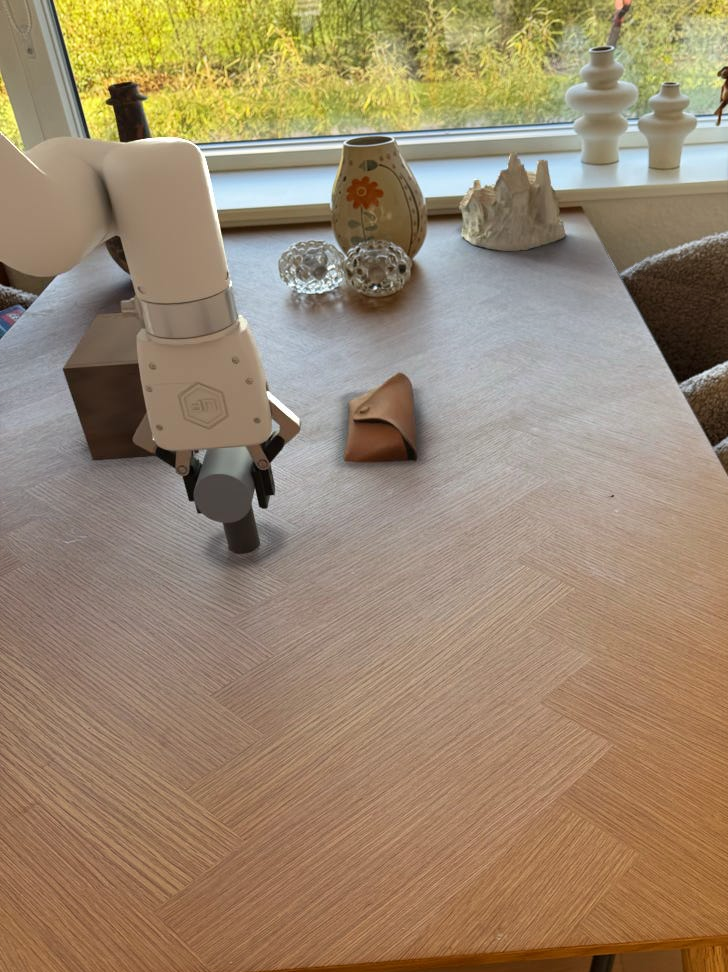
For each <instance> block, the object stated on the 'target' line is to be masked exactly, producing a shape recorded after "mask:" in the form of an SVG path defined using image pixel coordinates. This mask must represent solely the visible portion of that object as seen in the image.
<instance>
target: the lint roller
mask: <svg viewBox="0 0 728 972" xmlns="http://www.w3.org/2000/svg"><path fill="white" fill-rule="evenodd" d="M201 463H202V467H201V470H200V473H199V476H198V480H197V483H196V486H195V490H194V501H195V502H194V501H193V502H194V505H195V504H196V506H197V508H198V509H199V511H200V512H201V513H202V515H203V516H204V517H206V518H208V519H209V520H211V521H213V522H217V523H222V526H223V529H224V534H225V538H226V542H227V546H228V550H229V551H230V552H232V553H233V554H237V555H239V554H241V555H242V554H248V553H251V552H253V551H255V550H257V549H258V548H259V547H260V545H261V539H260V536H259V535H260V534H259V530H258V525H257V522H256V517H255V513H254V509H253V504H252V503H253V499H254V494H255V491H256V490H255V485H254V481H253V477H252V469H253V465H254V463H253V459H252V457H251V456H250V454H249V452H248V450H247V449H246V447H245V446H244V447H233V448H220V449H206V451H205V453H204V457H203V460H202V462H201ZM196 506H195V507H196Z"/></svg>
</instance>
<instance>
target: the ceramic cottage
mask: <svg viewBox="0 0 728 972" xmlns="http://www.w3.org/2000/svg"><path fill="white" fill-rule="evenodd" d="M548 162H549V161H548V160H546V159H538V161H537V163H536V167H535V168H536V169H535V171H531V170H526V168H525V164H524V163H522V162H521V159H520V158H519V157H518V152H513V151H510V153H509V157H508V162H507V168H506V169H502V170H500V171H499V175H498V176H497V179H496V181H495V182H494V183H493V184H490V185H489V184H485V185H484V186H483V187H482V184H481V181H480V179H476V178H475V179H473V181H472V186H471V187H468V190H467V192H466V194H465V195H464V196H463V198H462V200H461V201H460V202H459V206H458V209H459V210H461V215H462V222H463V223H462V224H463V226H462V229H461V238H464V240H465V241H467V242H468V243H470V245H473V246H478V247H480V248H486V249H487V250H488V249H489V250H494V251H497V250H498V251H501V252H517V251H520V250H521V251H526V250H530V249H535V248H538V247H539V248H540V246H543V245H548V244H551V243H554V242H557V241H559V240H562V239H564V238H565V237H566V229H565V226H564V225H565V224H564V221H563V220H562V219H561V218H560V211H561V209H560V207H559V204H558V203H559V202H561V197H559V194H557V192H556V190H555V189H554V187H553V186H552V181H551V175H550V170H549V163H548Z"/></svg>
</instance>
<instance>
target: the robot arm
mask: <svg viewBox="0 0 728 972" xmlns="http://www.w3.org/2000/svg"><path fill="white" fill-rule="evenodd" d="M209 171H210V170H209V167H208V164H207V160H206V158H205V155H204V153H203V152H202V150H201V149H200V148H199V147H198V145H196V144H195V143H193V142H191V141H190V140H186V139H182V138H178V137H152V138H151V139H143V140H136V141H132V142H128V143H122V142H120V141H109V140H101V139H93V138H87V137H79V136H77V137H76V136H58V137H57V136H56V137H53V138H48V139H46V140H44V141H42V142H40V143H38V144H36V145H35V146H33V147H32V148H30V149H28V150H26V151H24V152H22V151H20V150H19V149H18V147H16V146H15V145H14V144H13V142H11V141H10V140H9V139H8V138H7V137H6V136H5V135H4V134H3V132H1V131H0V262H1V263H3V264H4V265H6V266H7V267H9V268H11V269H13V270H15V271H18V272H20V273H22V274H24V275H29V276H32V277H37V278H38V277H39V278H51V277H56V276H57V277H58V276H60V275H63V274H65V273H68V272H70V271H71V270H73V269H74V268H75V267H76V266H78V265H79V264H80V263H81V262H82V261H84V260H85V258H87V257H88V256H89V255H90V253H91V252H92V251H93V250H94V249H96V247H98V246H100V245H101V244H103V243H105V241H107V240H108V239H110V238H112V237H114V236H116V235H117V236H119V237H120V238H121V242H122V245H123V249H124V253H125V256H126V260H127V264H128V267H129V271H130V275H131V276H130V275H129V276H130V278H131V282H132V286H133V289H134V293H135V295H134V296H133V297H130V298H129V299H127V300H126V299H125V300H121V301H120V309H121V313H122V314H123V316H124V317H125V318H126V317H133V318H134V319H138V320H139V322H141V325H142V329H141V330H140V332H139V333H138V334H137V354H138V363H139V370H140V377H141V383H142V389H143V394H144V399H145V404H146V409H147V412H146V414H145V416H144V418H143V419H142V421H141V423H140V425H139V426H138V428H137V430H136V432H135V434H134V436H133V442H134V443H135V444H136V445H138V446H140V447H142V448H144V449H145V450H147V451H149V452H151V453H152V452H153V453H155V454H156V457H157V458H158V459H159V460H161V461H162V462H164V463H165V464H167V465H169V466H170V467H172V468H173V469H175V470H174V471H175V473H176V474H177V475H178V476H181V477H182V480H183V484H184V488H185V491H186V495H187V499H188V501H189V502H194V505H195V509H196V513H197V514H198V515H200V514H202V513H201V512H200V511H199V509H198V508H197V506H196V504H195V501H194V490H195V486H196V483H197V480H198V476H199V473H200V470H201V467H202V463H203V462H201V461H200V459H197V458H196V457H195V453H194V450H199V451H203V450H207V449H220V448H233V447H244V446H245V447H246V449H247V450H248V452H249V454H250V456H251V457H252V459H253V463H254V465H253V469H252V477H253V481H254V485H255V490H254V491H255V495H256V499H257V505H258V508H261V509H262V510H266V509H267V510H268V508H269V503H270V497H271V496H275V495H276V485H275V478H274V474H273V469H272V462H273V461H274V460H275V458H276V457H277V456H278V455H279V454H280V452H282V450H283V449H284V447H285V446H286V445H287V444H288V443H290V442H291V441H292V440H293V439H294V438H295V437H296V436H297V435H298V434H299V433H300V432H301V428H302V421H301V419H300V418H299V417H298V416H297V415H295V413H294V412H292V410H290V409H289V408H288V407H286V406H285V405H284V404H283V403H282V402H280V400H278V398H276V397H275V396H274V395H273V394H271V389H270V386H269V382H268V377H267V375H266V370H265V367H264V364H263V361H262V358H261V354H260V351H259V348H258V345H257V342H256V340H255V337H254V335H253V332H252V329H251V327H250V325H249V323H248V321H247V319H246V318H245V317H244V316H243V315H239V314H238V309H237V304H236V299H235V294H234V290H233V285H232V280H231V275H230V271H229V270H230V269H229V265H228V261H227V255H226V251H225V246H224V241H223V235H222V231H221V226H220V220H219V216H218V211H217V206H216V201H215V196H214V191H213V186H212V181H211V176H210V172H209ZM272 420H273V421H274V422H275V423H276V424H277V425H279V427H278V428H277V430H274V431H273V432H272V429H273V423H272ZM160 427H161V428H160ZM202 515H203V514H202Z"/></svg>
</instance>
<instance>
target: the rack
mask: <svg viewBox="0 0 728 972" xmlns="http://www.w3.org/2000/svg"><path fill="white" fill-rule="evenodd" d="M141 329H142V325H141V322H139V320H138V319H134V318H133V317H126V318H125V317H124V316H123V314H122V312H115V313H103V314H102V313H99V314H97V315H96V316H95V317H94V318H93V321H92V322H91V324H90V325H89V327H88V329H87V330H86V331H85V333H84V335H83V336H82V337H81V339H80V341H79V342H78V343H77V345H76V347H75V349H74V350H73V352H72V353H71V355H70V356H69V358H68V359H67V360H66V363H64V366H63V367H62V371H63V374H64V375H63V376H64V378H65V381H66V383H67V387H68V390H69V393H70V396H71V399H72V403H73V405H74V408H75V411H76V414H77V417H78V420H79V423H80V426H81V429H82V431H83V435H84V438H85V441H86V444H87V447H88V449H89V453H90V456H91V459H92V461H101V460H115V459H125V458H126V459H127V458H128V459H129V458H142V457H155V456H156V454H155V453H153V452H152V453H151V452H149V451H147V450H145V449H144V448H142V447H140V446H138V445H136V444H135V443H134V442H133V436H134V434H135V432H136V430H137V428H138V426H139V425H140V423H141V421H142V419H143V418H144V416H145V414H146V412H147V409H146V404H145V399H144V394H143V389H142V383H141V377H140V370H139V363H138V354H137V334H138V333H139V332H140V330H141ZM160 428H161V427H160ZM199 451H200V450H194V454H195V452H196V453H199ZM156 457H157V456H156Z"/></svg>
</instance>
